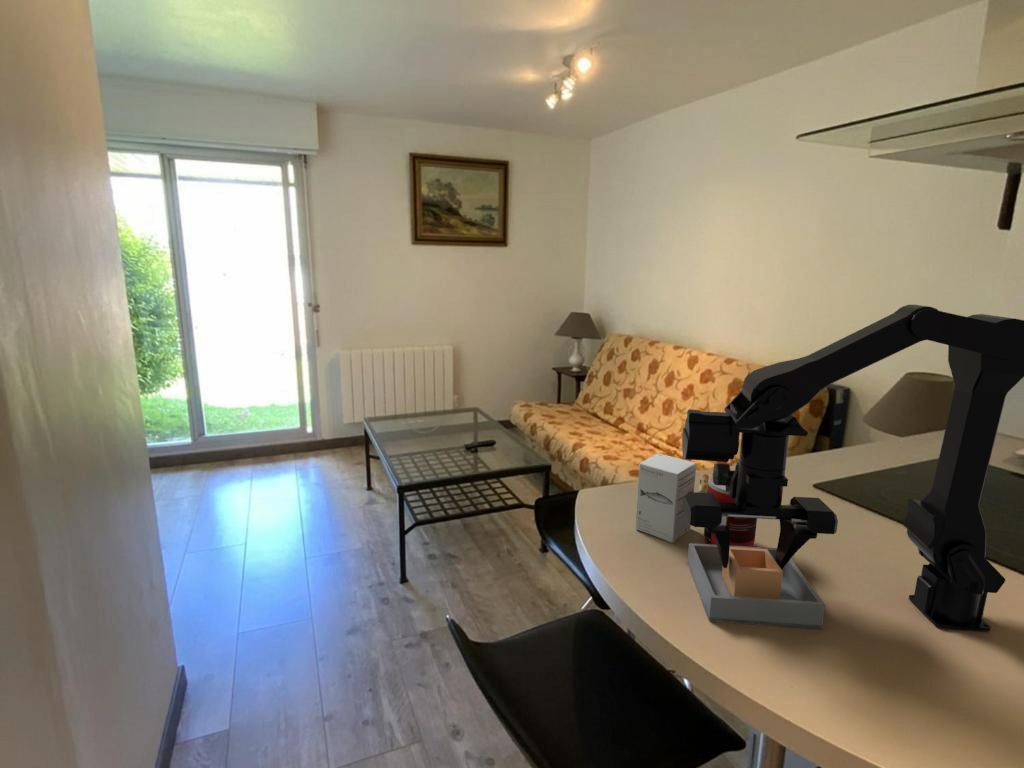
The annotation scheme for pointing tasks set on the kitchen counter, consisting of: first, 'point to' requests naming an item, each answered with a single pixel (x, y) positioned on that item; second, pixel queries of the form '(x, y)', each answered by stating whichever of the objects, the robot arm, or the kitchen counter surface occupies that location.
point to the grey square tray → (789, 611)
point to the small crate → (752, 574)
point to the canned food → (732, 521)
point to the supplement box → (664, 496)
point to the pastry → (704, 483)
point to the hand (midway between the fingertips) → (750, 567)
